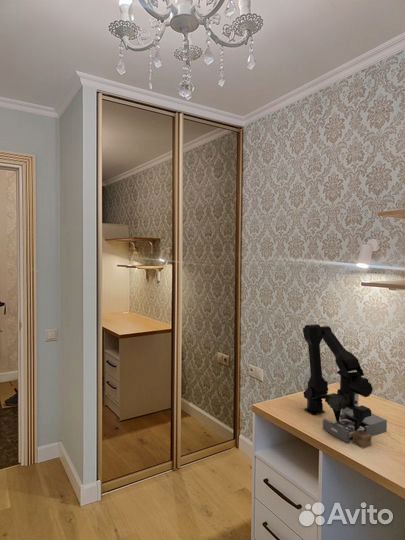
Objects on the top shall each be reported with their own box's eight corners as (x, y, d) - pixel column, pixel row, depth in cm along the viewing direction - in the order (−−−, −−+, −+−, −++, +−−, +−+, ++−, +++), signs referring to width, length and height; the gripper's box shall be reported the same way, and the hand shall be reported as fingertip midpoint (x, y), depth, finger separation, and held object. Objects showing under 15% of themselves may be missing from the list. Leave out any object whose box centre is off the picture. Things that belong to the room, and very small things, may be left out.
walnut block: (352, 442, 143) (353, 432, 142) (361, 440, 145) (361, 429, 144) (362, 448, 139) (363, 437, 138) (370, 445, 141) (371, 435, 140)
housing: (340, 424, 158) (340, 413, 158) (359, 418, 163) (360, 408, 163) (366, 437, 146) (366, 426, 146) (386, 431, 152) (386, 419, 152)
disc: (333, 426, 152) (333, 422, 152) (345, 422, 155) (345, 418, 155) (347, 433, 146) (347, 429, 146) (359, 430, 149) (359, 425, 149)
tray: (322, 429, 153) (322, 419, 153) (343, 422, 158) (343, 413, 158) (346, 442, 142) (346, 432, 142) (368, 435, 147) (368, 425, 147)
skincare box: (353, 414, 168) (354, 387, 167) (358, 418, 163) (359, 391, 163) (340, 414, 167) (341, 388, 167) (345, 419, 163) (345, 391, 162)
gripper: (315, 383, 154) (314, 420, 155) (352, 399, 138) (351, 440, 138) (335, 379, 159) (334, 415, 160) (372, 394, 143) (371, 434, 143)
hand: (346, 425), depth 150 cm, fingers open, 9 cm apart
